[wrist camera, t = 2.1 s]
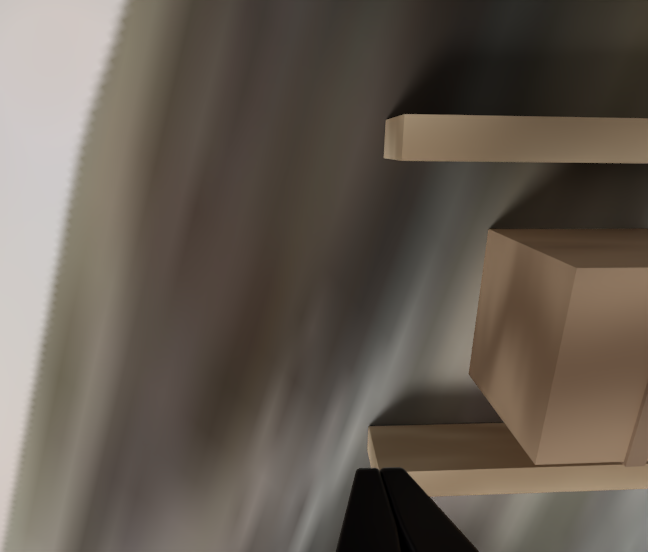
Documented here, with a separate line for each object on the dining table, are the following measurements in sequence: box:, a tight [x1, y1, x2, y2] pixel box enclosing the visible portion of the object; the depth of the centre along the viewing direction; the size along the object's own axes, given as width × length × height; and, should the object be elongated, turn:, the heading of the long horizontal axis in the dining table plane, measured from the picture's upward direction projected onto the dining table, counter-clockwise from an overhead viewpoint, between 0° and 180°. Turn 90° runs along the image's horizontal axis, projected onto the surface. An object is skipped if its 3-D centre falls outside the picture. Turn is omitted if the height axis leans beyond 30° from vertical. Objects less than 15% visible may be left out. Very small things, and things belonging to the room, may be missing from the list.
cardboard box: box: [469, 229, 648, 467], centre depth 13 cm, size 6×6×5 cm
